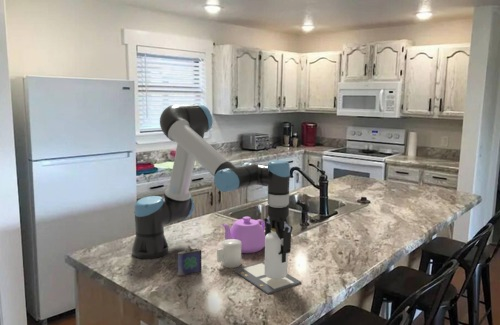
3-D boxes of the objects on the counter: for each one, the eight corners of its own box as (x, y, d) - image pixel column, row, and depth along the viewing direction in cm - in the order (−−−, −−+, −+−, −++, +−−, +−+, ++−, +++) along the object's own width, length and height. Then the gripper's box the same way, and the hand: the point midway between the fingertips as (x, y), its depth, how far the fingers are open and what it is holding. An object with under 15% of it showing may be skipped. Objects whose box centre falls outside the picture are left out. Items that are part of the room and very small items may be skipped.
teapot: (252, 236, 198) (252, 208, 195) (278, 246, 185) (279, 217, 182) (209, 248, 182) (209, 218, 179) (235, 260, 168) (235, 228, 166)
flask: (179, 277, 153) (178, 249, 151) (176, 274, 156) (176, 247, 154) (202, 272, 157) (202, 245, 156) (199, 269, 160) (199, 243, 158)
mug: (234, 258, 171) (234, 237, 169) (244, 264, 165) (245, 243, 163) (213, 264, 165) (213, 242, 164) (222, 270, 159) (222, 248, 157)
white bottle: (262, 270, 153) (263, 224, 150) (284, 270, 154) (286, 223, 151) (266, 280, 145) (267, 231, 142) (289, 280, 146) (290, 231, 143)
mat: (267, 294, 141) (267, 292, 140) (233, 271, 159) (233, 269, 158) (301, 283, 149) (301, 281, 149) (265, 262, 167) (265, 261, 167)
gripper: (302, 208, 140) (300, 273, 144) (271, 198, 154) (270, 257, 158) (285, 212, 135) (283, 279, 139) (255, 200, 150) (254, 261, 154)
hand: (277, 267), depth 149 cm, fingers open, 4 cm apart
